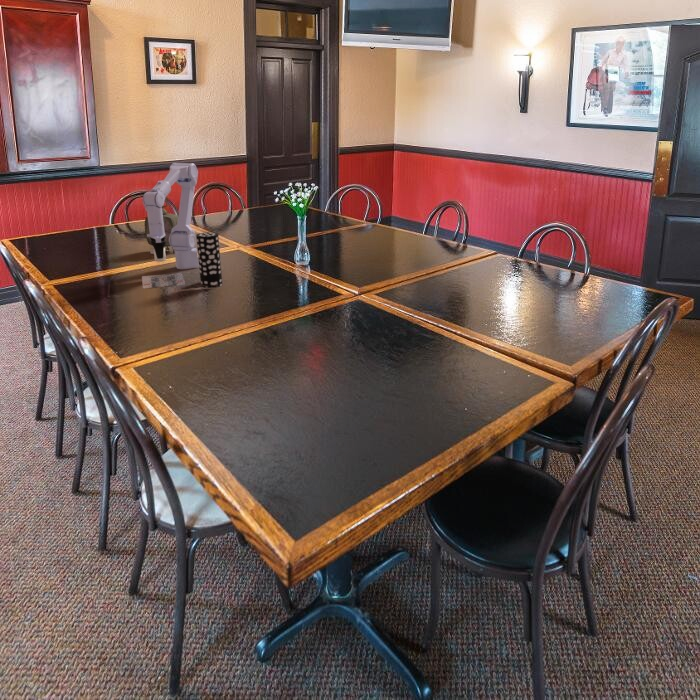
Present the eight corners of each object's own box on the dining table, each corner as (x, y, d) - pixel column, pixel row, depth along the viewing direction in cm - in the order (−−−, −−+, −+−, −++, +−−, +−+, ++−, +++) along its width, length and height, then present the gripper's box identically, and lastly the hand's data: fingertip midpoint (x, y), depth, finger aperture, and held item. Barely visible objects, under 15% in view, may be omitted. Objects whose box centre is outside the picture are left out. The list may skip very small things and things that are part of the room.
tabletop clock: (147, 253, 310) (141, 199, 300) (156, 249, 318) (149, 196, 309) (176, 254, 307) (170, 200, 298) (184, 250, 316) (178, 197, 306)
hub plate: (182, 275, 273) (181, 269, 272) (185, 286, 257) (185, 280, 257) (142, 278, 269) (141, 272, 268) (143, 290, 253) (142, 284, 252)
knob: (167, 259, 266) (166, 246, 264) (164, 261, 262) (162, 248, 260) (153, 258, 266) (152, 246, 264) (149, 261, 262) (148, 248, 260)
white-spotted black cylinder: (226, 282, 262) (222, 233, 255) (215, 288, 255) (211, 237, 247) (207, 281, 265) (203, 231, 257) (196, 286, 257) (191, 236, 250)
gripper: (145, 220, 264) (149, 253, 269) (145, 227, 251) (150, 261, 256) (163, 219, 266) (167, 252, 271) (164, 225, 253) (168, 260, 258)
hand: (160, 257), depth 264 cm, fingers closed on knob, 4 cm apart
